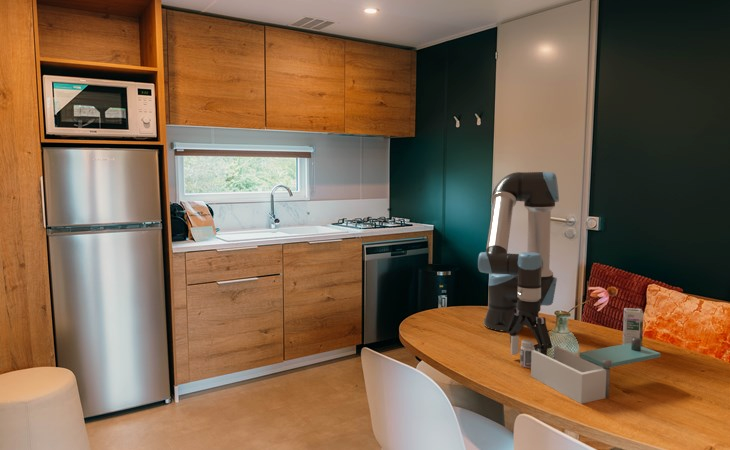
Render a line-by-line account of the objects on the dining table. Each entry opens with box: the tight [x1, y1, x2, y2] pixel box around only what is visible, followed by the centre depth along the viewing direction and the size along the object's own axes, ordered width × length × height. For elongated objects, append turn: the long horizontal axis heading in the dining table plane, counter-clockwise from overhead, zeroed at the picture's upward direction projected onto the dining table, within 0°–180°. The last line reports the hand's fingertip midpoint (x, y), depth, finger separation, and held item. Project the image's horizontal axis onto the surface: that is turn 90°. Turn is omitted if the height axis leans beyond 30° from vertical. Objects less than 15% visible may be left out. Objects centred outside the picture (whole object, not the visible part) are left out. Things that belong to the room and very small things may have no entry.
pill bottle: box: [519, 339, 536, 369], centre depth 176 cm, size 5×5×8 cm
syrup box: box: [622, 307, 644, 347], centre depth 191 cm, size 6×6×14 cm
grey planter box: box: [530, 345, 611, 405], centre depth 158 cm, size 11×22×9 cm, turn 22°
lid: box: [578, 337, 661, 369], centre depth 158 cm, size 11×22×5 cm, turn 112°
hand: (527, 360), depth 176 cm, fingers open, 13 cm apart
